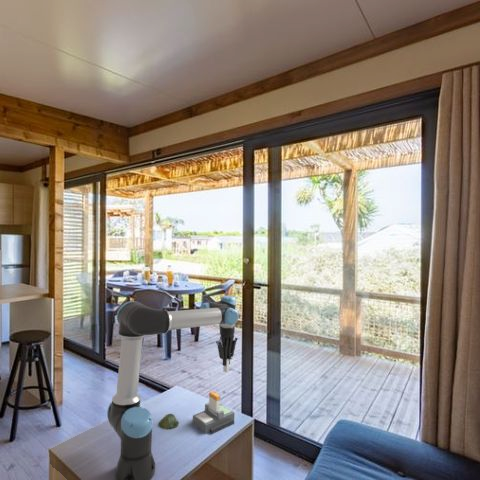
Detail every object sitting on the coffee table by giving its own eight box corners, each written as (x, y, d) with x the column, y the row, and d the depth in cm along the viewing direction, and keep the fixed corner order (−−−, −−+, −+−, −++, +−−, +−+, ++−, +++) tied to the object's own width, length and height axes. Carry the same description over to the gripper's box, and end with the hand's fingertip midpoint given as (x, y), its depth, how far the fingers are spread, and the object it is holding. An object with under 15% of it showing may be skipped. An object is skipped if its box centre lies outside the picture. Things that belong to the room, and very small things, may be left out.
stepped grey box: (206, 433, 159) (206, 418, 158) (192, 423, 167) (192, 408, 167) (234, 420, 171) (235, 406, 171) (220, 411, 179) (220, 397, 179)
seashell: (156, 420, 161) (163, 409, 171) (155, 428, 161) (162, 417, 171) (176, 424, 160) (182, 413, 170) (175, 432, 160) (181, 421, 170)
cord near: (212, 434, 159) (212, 430, 159) (209, 432, 160) (209, 428, 160) (234, 423, 168) (234, 420, 168) (231, 422, 169) (231, 418, 169)
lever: (216, 416, 165) (217, 397, 165) (207, 410, 171) (208, 391, 171) (220, 414, 167) (221, 396, 167) (211, 408, 172) (211, 390, 172)
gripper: (222, 329, 166) (220, 377, 166) (241, 325, 175) (240, 370, 175) (213, 326, 171) (211, 372, 172) (232, 322, 180) (230, 365, 181)
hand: (226, 371), depth 173 cm, fingers closed
